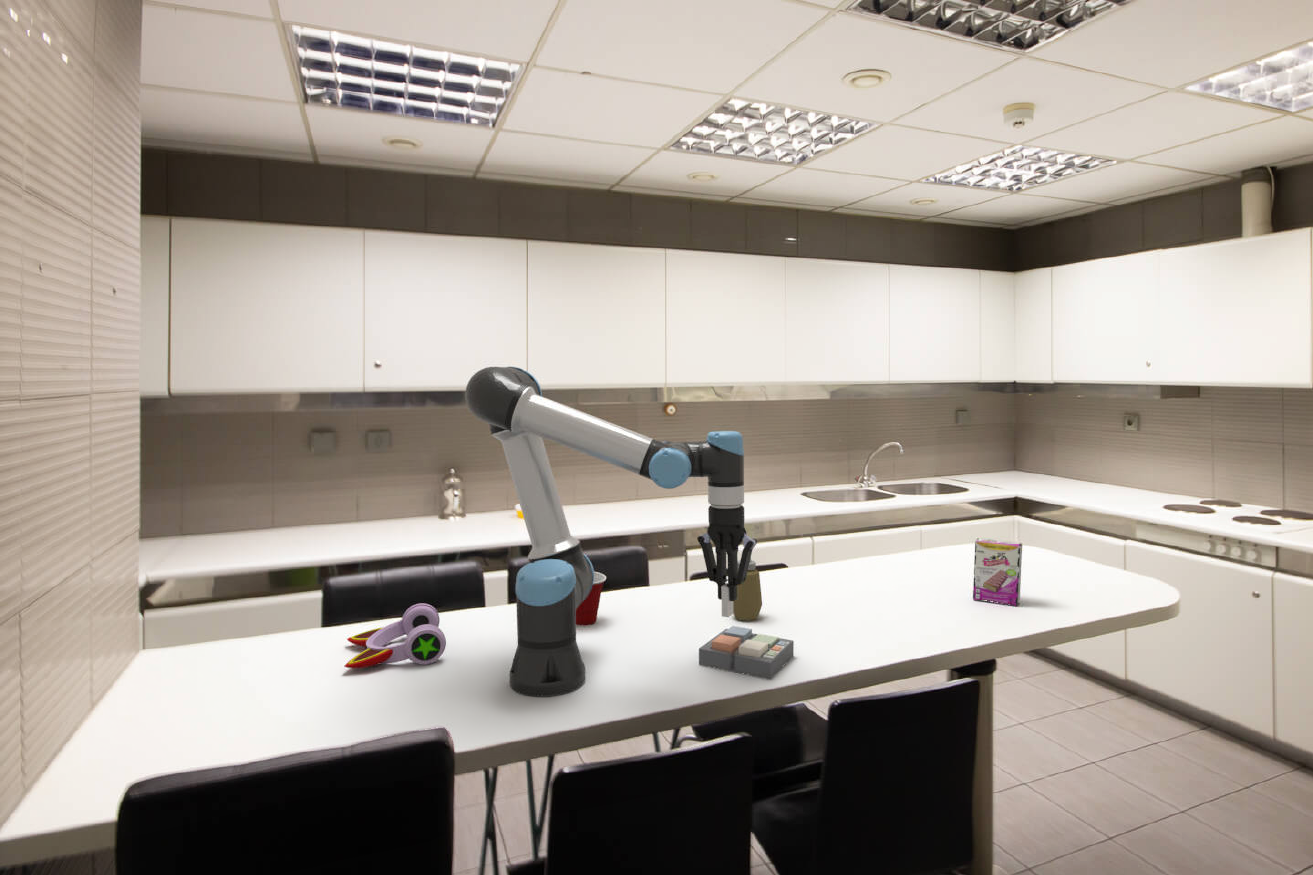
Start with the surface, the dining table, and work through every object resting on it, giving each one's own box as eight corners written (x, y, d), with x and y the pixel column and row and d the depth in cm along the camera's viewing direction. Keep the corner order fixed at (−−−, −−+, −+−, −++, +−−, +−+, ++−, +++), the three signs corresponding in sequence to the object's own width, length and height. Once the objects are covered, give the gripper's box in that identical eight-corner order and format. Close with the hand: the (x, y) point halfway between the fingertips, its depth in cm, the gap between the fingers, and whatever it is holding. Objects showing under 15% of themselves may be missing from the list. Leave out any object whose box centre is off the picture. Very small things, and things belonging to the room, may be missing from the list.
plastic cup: (600, 630, 176) (599, 581, 175) (557, 627, 179) (556, 579, 178) (612, 616, 187) (611, 570, 186) (571, 613, 189) (570, 568, 188)
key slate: (743, 649, 158) (743, 635, 158) (724, 645, 161) (724, 631, 160) (751, 642, 162) (751, 629, 162) (732, 638, 165) (732, 625, 164)
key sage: (770, 657, 155) (770, 643, 155) (750, 653, 158) (750, 640, 157) (778, 650, 159) (778, 637, 159) (758, 646, 162) (758, 633, 161)
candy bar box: (972, 600, 197) (974, 540, 196) (975, 596, 202) (977, 537, 200) (1018, 607, 191) (1020, 545, 190) (1020, 602, 196) (1022, 542, 194)
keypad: (770, 679, 147) (770, 660, 147) (698, 664, 155) (698, 646, 155) (793, 656, 159) (793, 638, 159) (726, 643, 167) (726, 626, 167)
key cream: (759, 664, 150) (759, 650, 149) (738, 660, 152) (738, 646, 152) (767, 657, 154) (767, 643, 153) (747, 653, 156) (747, 639, 156)
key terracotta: (731, 658, 153) (731, 644, 152) (711, 655, 155) (711, 641, 155) (740, 651, 157) (740, 638, 156) (720, 647, 159) (720, 634, 159)
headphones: (448, 627, 157) (347, 628, 150) (443, 672, 157) (343, 675, 150) (440, 601, 175) (350, 601, 168) (436, 642, 176) (346, 643, 168)
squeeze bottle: (754, 625, 180) (754, 552, 178) (724, 619, 184) (724, 549, 182) (767, 615, 186) (767, 546, 185) (738, 610, 191) (738, 542, 189)
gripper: (762, 504, 153) (763, 614, 155) (705, 500, 160) (707, 605, 162) (748, 510, 147) (749, 624, 149) (690, 505, 153) (692, 615, 155)
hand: (727, 614), depth 155 cm, fingers closed
